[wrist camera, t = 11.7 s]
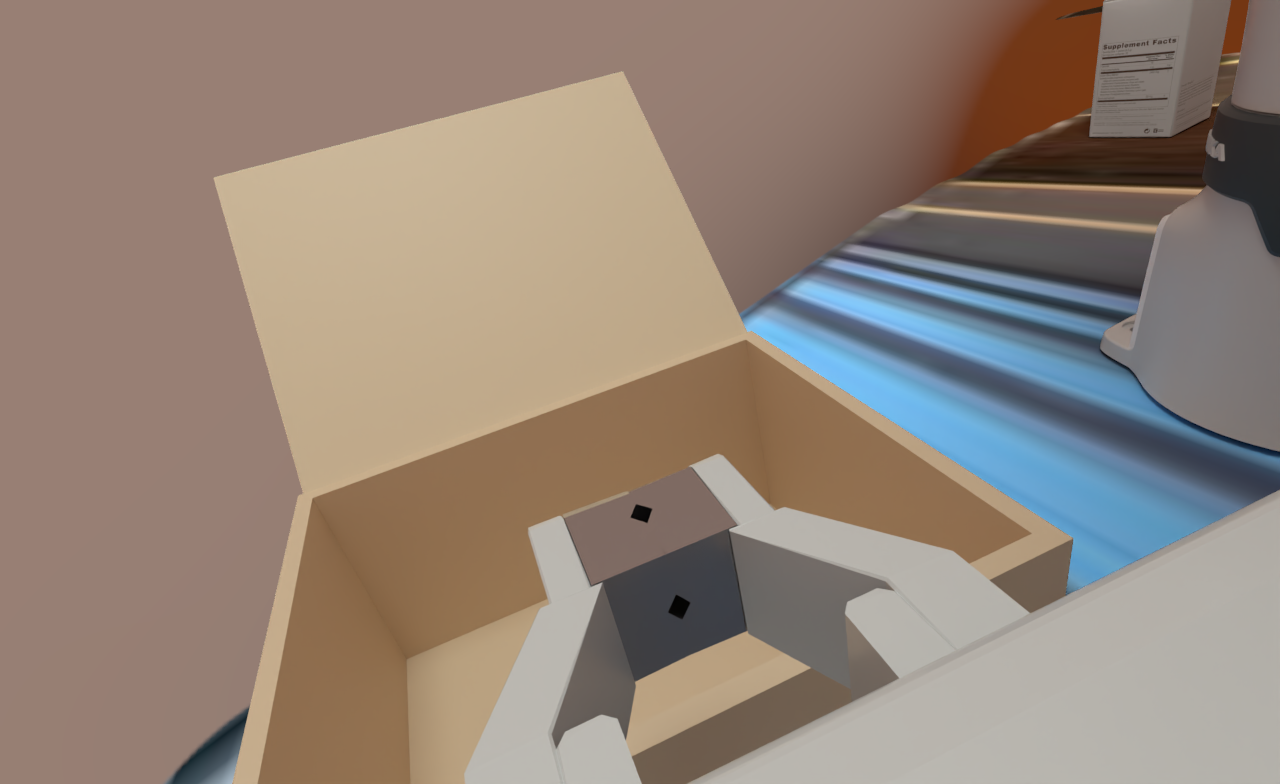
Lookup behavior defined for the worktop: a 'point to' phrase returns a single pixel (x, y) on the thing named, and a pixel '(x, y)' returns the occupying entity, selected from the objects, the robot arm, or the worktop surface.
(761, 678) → the carton
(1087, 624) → the robot arm
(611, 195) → the carton flap
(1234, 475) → the worktop surface
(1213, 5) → the supplement box
